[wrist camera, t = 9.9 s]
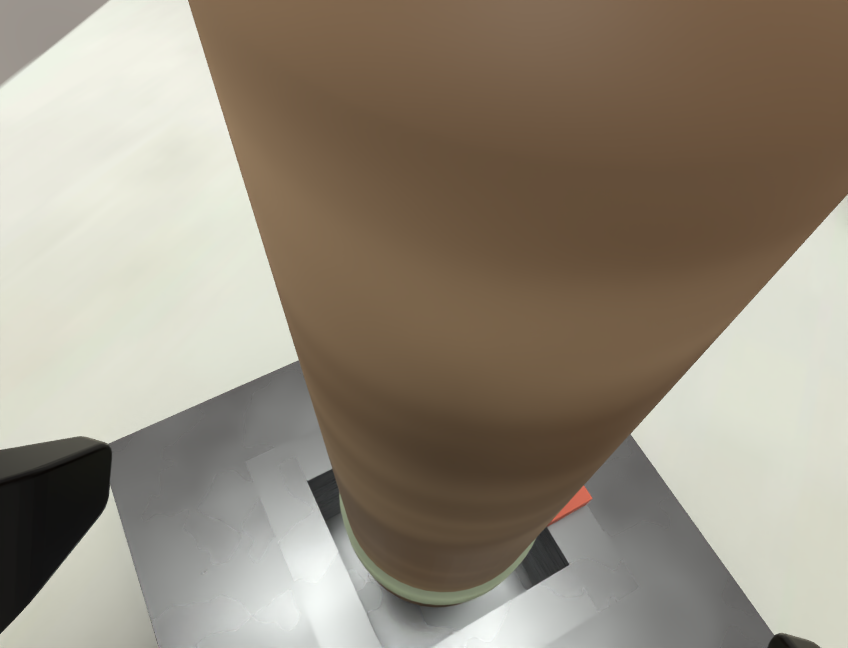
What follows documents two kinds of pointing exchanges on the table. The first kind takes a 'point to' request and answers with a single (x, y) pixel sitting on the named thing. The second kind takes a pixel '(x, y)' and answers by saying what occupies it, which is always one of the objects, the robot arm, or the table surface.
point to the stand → (355, 587)
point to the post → (515, 233)
